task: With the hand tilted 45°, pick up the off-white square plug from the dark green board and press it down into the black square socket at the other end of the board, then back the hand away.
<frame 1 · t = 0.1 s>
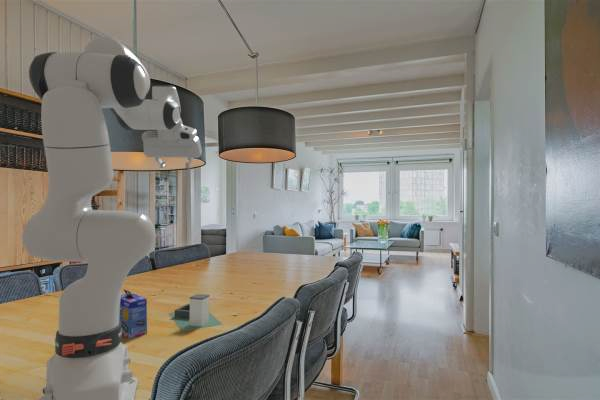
hand: (175, 167, 130), 54 cm above the table, tool tilted 30°, fingers open, 8 cm apart
plug: (199, 323, 114), point 1 cm above the table, touching board
board: (194, 322, 119), on the table
ink cartridge box: (130, 337, 106), on the table
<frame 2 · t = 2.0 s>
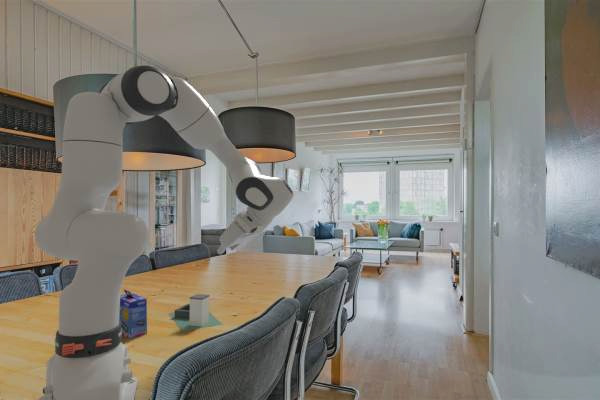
hand: (225, 250, 113), 26 cm above the table, tool tilted 45°, fingers open, 8 cm apart
nothing on the table moved.
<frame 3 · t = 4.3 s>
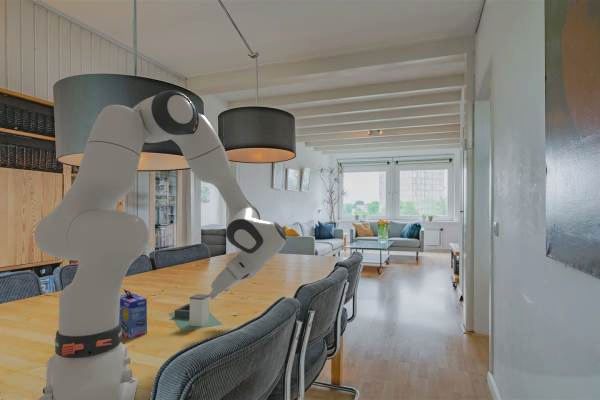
hand: (218, 293, 113), 12 cm above the table, tool tilted 45°, fingers open, 8 cm apart
nothing on the table moved.
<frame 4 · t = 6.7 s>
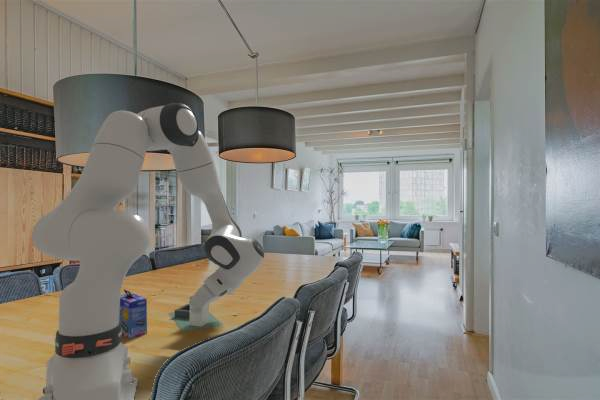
hand: (197, 308, 114), 6 cm above the table, tool tilted 45°, fingers closed on plug, 4 cm apart
plug: (199, 323, 114), point 1 cm above the table, touching board, gripper
everything else where it was.
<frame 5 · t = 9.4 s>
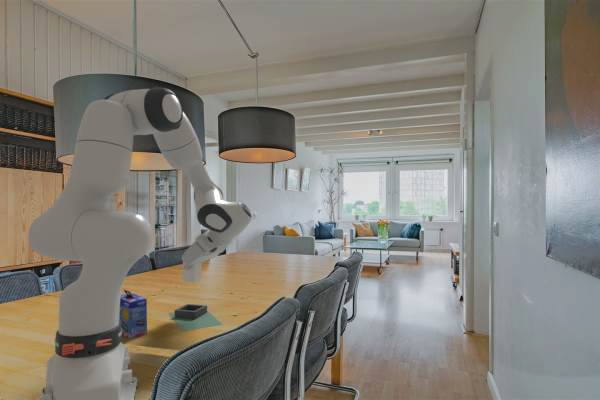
hand: (190, 267, 123), 18 cm above the table, tool tilted 45°, fingers closed on plug, 4 cm apart
plug: (191, 280, 123), point 13 cm above the table, touching gripper
everything else where it was.
when the fingers open (7 cm above the table, at t = 12.3 s): plug stays where it is, resting on board.
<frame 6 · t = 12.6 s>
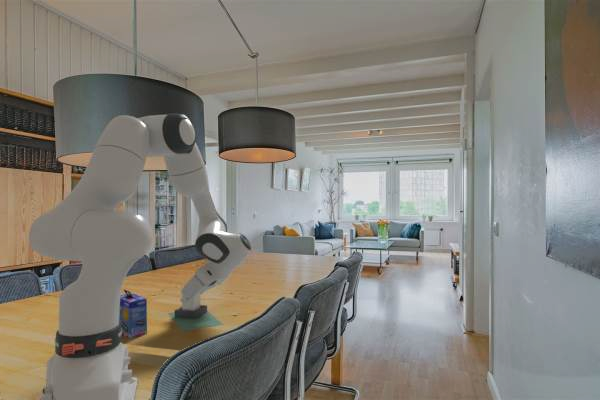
hand: (189, 298, 123), 7 cm above the table, tool tilted 45°, fingers open, 8 cm apart
plug: (191, 314, 123), point 1 cm above the table, touching board
everything else where it was.
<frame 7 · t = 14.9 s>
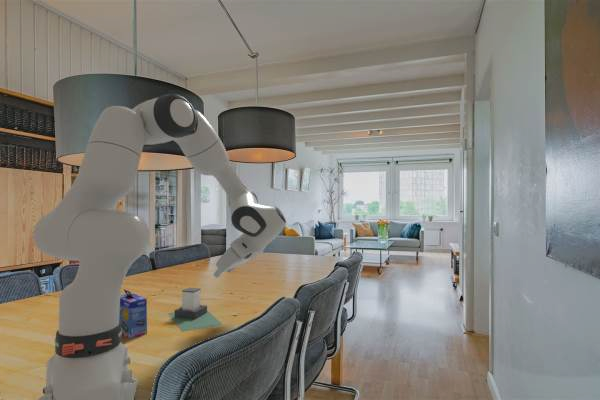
hand: (222, 273, 120), 17 cm above the table, tool tilted 45°, fingers open, 8 cm apart
nothing on the table moved.
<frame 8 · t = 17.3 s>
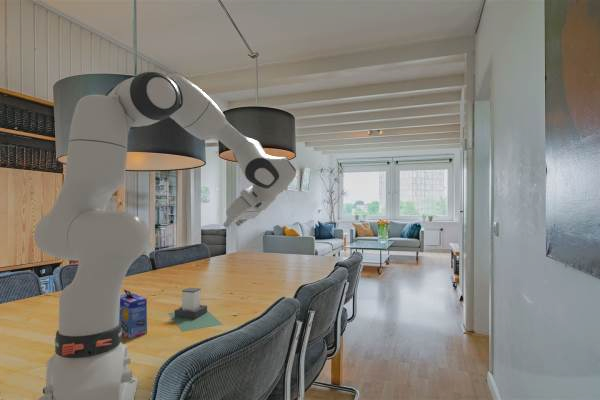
hand: (231, 225, 120), 33 cm above the table, tool tilted 45°, fingers open, 8 cm apart
nothing on the table moved.
at the end: plug 0.1 cm from the target spot on the board, point 1.5 cm above the board's base; plug tilted 0°; the gripper is holding nothing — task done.
